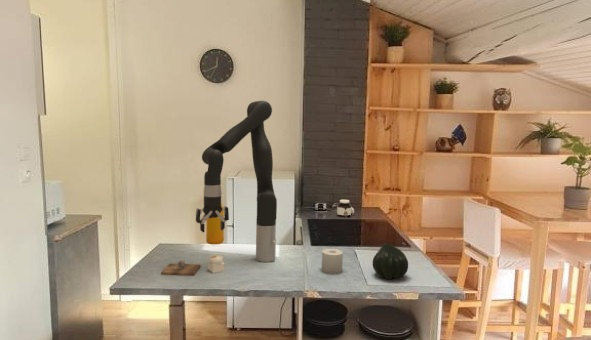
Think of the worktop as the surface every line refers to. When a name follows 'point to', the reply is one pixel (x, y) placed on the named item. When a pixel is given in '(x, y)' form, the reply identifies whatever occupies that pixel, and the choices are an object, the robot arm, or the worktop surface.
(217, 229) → the beer bottle
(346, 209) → the spread jar
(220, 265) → the knob
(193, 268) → the plate
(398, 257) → the squash
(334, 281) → the worktop surface
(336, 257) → the toilet tissue
